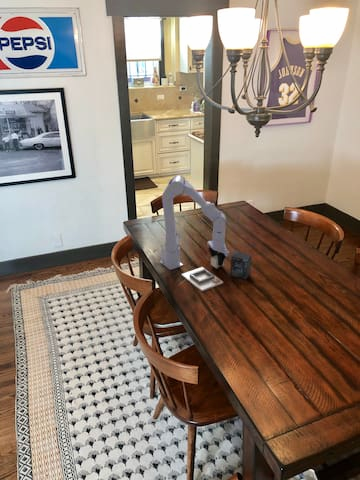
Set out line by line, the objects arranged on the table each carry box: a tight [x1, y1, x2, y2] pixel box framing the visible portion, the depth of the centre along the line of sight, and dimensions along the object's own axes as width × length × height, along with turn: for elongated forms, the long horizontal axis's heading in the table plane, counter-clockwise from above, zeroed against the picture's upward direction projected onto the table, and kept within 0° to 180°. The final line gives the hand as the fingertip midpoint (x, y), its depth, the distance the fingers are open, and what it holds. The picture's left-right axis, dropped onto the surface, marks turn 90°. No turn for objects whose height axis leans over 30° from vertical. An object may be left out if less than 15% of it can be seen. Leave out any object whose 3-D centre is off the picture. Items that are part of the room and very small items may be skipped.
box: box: [229, 251, 252, 280], centre depth 170 cm, size 8×6×11 cm
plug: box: [210, 255, 225, 270], centre depth 178 cm, size 4×5×5 cm
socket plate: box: [181, 266, 224, 292], centre depth 169 cm, size 16×12×2 cm
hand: (217, 263), depth 179 cm, fingers closed on plug, 4 cm apart
